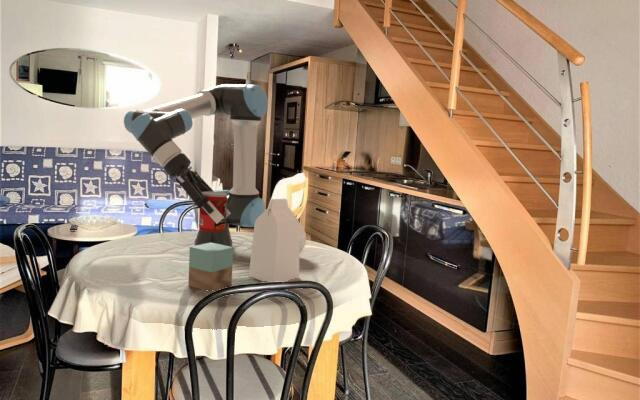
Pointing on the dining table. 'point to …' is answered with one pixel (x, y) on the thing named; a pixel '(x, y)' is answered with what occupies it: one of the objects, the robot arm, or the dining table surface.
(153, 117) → the robot arm
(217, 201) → the canned food
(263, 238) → the milk
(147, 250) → the dining table surface
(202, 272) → the walnut block
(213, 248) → the teal block
